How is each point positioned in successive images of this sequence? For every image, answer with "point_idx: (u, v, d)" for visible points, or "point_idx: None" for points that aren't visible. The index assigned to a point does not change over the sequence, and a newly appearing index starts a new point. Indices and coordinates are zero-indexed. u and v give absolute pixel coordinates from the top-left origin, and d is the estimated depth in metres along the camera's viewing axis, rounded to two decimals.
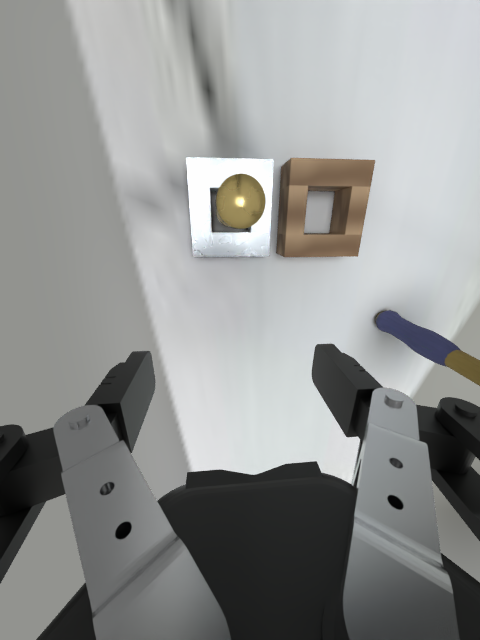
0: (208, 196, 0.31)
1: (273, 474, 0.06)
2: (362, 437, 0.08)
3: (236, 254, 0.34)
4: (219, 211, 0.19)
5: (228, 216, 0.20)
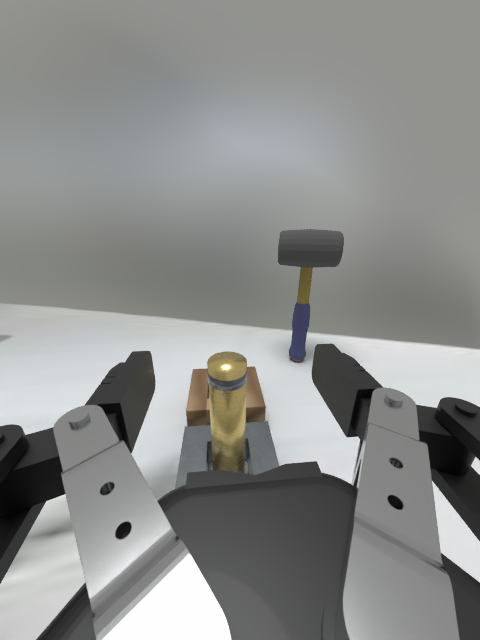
0: None
1: (273, 474, 0.06)
2: (362, 437, 0.08)
3: (272, 450, 0.31)
4: (235, 371, 0.23)
5: (238, 366, 0.24)
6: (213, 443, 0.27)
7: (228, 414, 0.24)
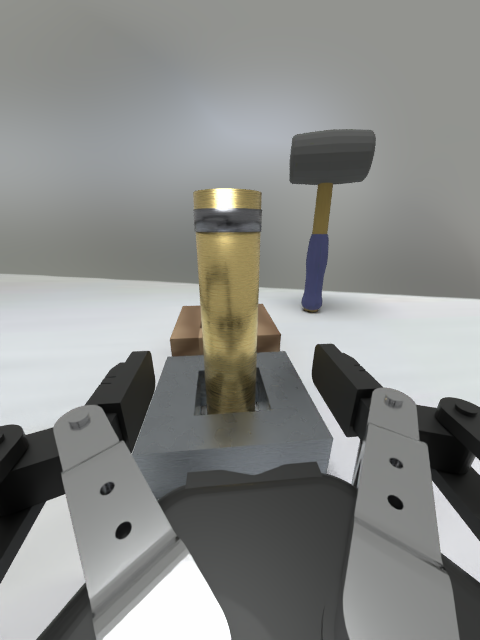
0: (208, 416, 0.16)
1: (273, 474, 0.06)
2: (362, 437, 0.08)
3: (296, 379, 0.20)
4: (242, 190, 0.13)
5: None
6: (206, 353, 0.17)
7: (230, 285, 0.14)
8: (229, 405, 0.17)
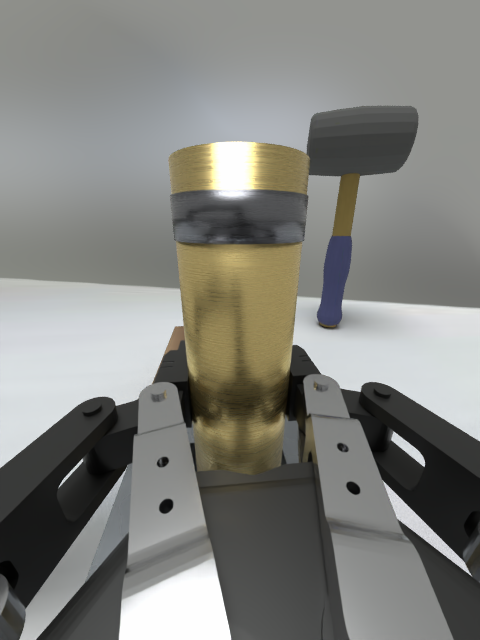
0: None
1: (273, 474, 0.06)
2: (299, 425, 0.09)
3: None
4: (276, 147, 0.05)
5: None
6: (198, 449, 0.10)
7: (243, 349, 0.07)
8: None
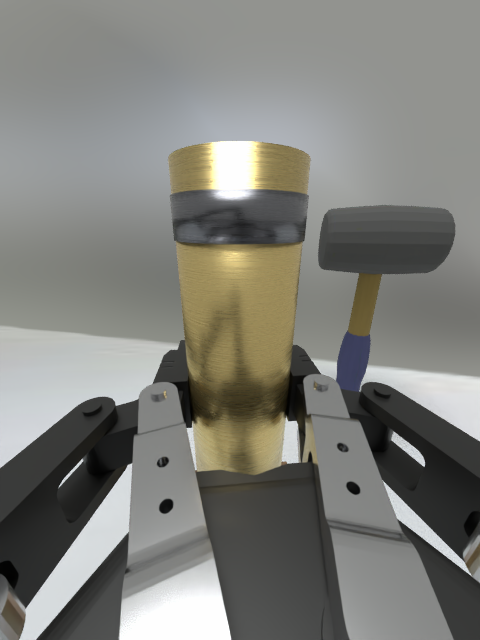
0: None
1: (273, 474, 0.06)
2: (300, 425, 0.09)
3: None
4: (277, 147, 0.05)
5: None
6: (198, 449, 0.10)
7: (243, 350, 0.07)
8: None
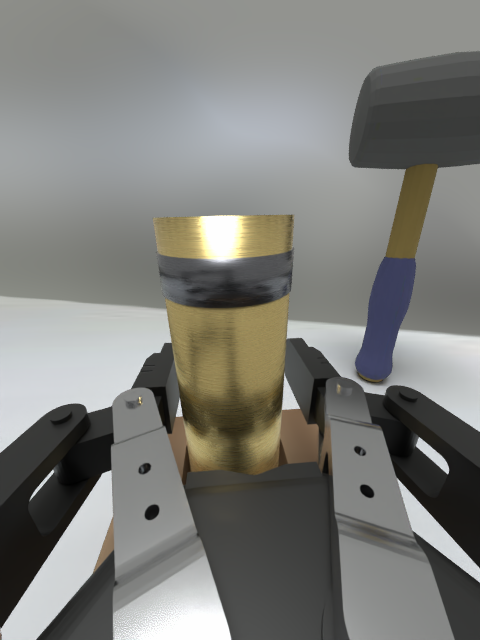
0: None
1: (273, 474, 0.06)
2: (320, 427, 0.09)
3: None
4: (257, 216, 0.05)
5: None
6: None
7: (233, 400, 0.07)
8: None
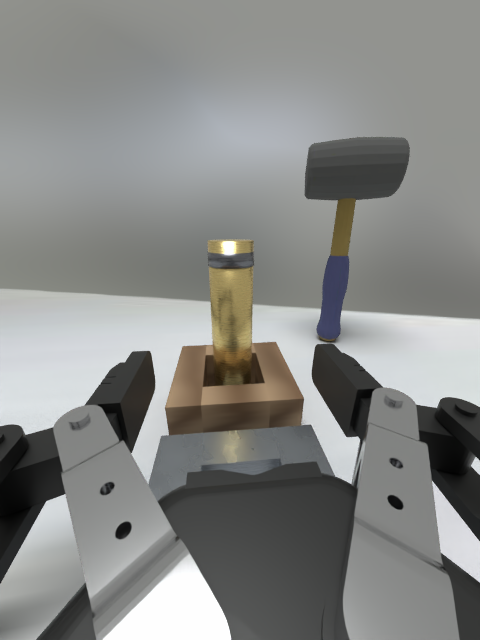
0: None
1: (273, 474, 0.06)
2: (362, 437, 0.08)
3: None
4: (240, 242, 0.19)
5: (244, 241, 0.20)
6: (215, 349, 0.24)
7: (232, 303, 0.21)
8: None
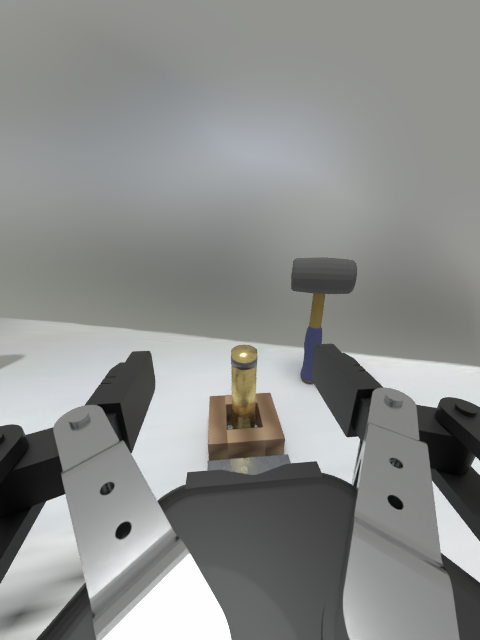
0: None
1: (273, 474, 0.06)
2: (362, 437, 0.08)
3: None
4: (250, 356, 0.36)
5: (252, 354, 0.36)
6: (233, 407, 0.40)
7: (245, 385, 0.37)
8: None
